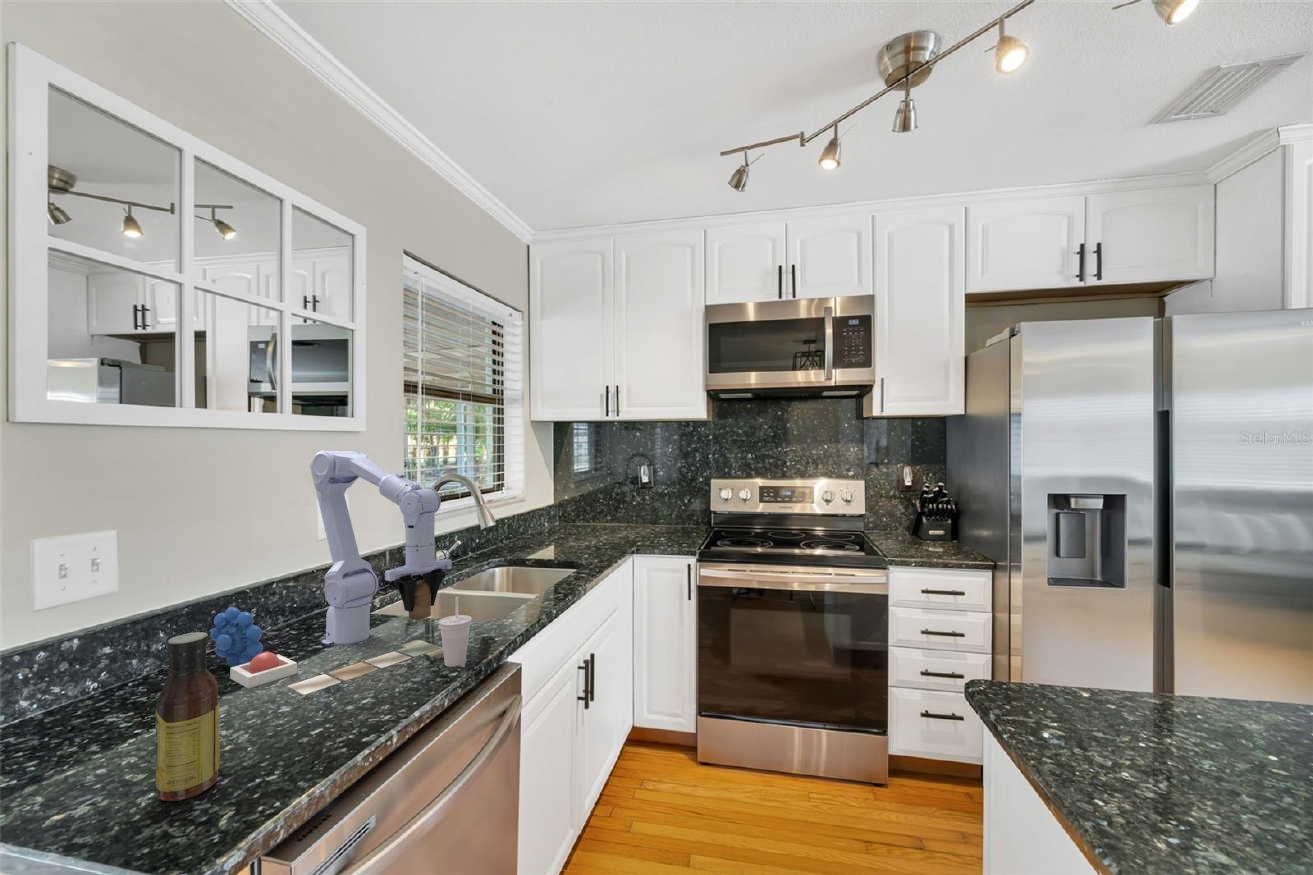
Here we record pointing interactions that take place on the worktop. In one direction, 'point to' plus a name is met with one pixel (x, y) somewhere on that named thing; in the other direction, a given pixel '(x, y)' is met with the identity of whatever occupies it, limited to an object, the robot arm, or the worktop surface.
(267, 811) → the worktop surface
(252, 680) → the dome base
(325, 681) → the game board
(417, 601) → the walnut pawn
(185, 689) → the sauce bottle
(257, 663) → the dome button
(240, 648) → the grapes
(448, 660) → the smoothie
